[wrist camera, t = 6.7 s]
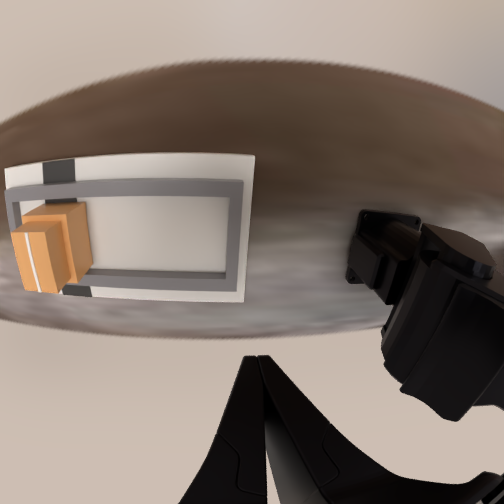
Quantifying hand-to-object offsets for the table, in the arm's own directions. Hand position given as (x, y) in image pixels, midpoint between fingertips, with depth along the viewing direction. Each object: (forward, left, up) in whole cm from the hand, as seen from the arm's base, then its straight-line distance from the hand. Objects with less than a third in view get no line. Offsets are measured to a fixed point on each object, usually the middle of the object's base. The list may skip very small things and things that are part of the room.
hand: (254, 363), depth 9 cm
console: (+9, 0, -13) cm, 16 cm away
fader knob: (+13, 0, -12) cm, 17 cm away
